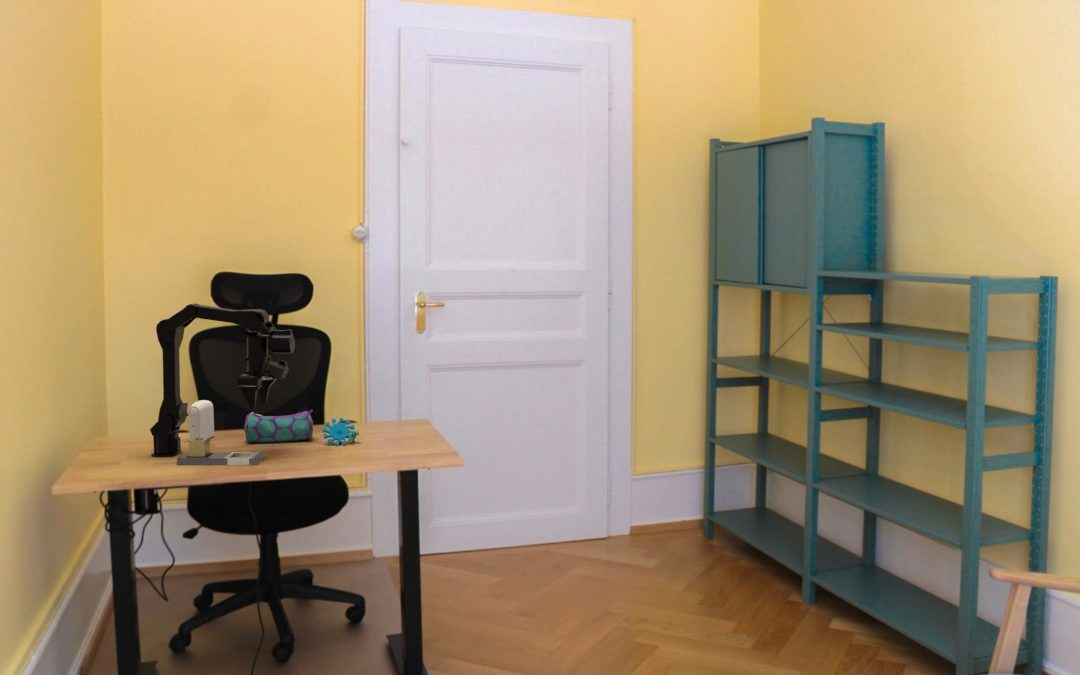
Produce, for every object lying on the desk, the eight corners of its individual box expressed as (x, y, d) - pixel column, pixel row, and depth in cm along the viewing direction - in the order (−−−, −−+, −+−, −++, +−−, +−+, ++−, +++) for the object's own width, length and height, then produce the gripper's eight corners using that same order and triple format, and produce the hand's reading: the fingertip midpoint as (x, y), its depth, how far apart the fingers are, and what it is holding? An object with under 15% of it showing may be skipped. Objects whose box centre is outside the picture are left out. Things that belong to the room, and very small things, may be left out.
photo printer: (200, 442, 297) (199, 403, 296) (187, 442, 297) (186, 403, 296) (216, 436, 307) (215, 398, 306) (203, 436, 307) (202, 397, 306)
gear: (319, 441, 291) (325, 414, 297) (319, 452, 295) (325, 425, 302) (356, 445, 292) (361, 418, 299) (356, 456, 297) (360, 429, 303)
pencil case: (243, 445, 293) (242, 414, 292) (245, 440, 301) (244, 410, 300) (313, 442, 298) (313, 412, 297) (313, 437, 306) (312, 407, 305)
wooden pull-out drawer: (189, 463, 268) (188, 439, 268) (194, 460, 273) (193, 436, 272) (205, 463, 268) (204, 439, 268) (210, 460, 273) (209, 436, 272)
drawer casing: (176, 464, 266) (176, 457, 266) (187, 458, 274) (186, 451, 274) (256, 464, 267) (256, 457, 266) (264, 458, 275) (264, 451, 274)
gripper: (274, 357, 267) (275, 412, 269) (295, 350, 286) (295, 401, 287) (235, 356, 268) (236, 411, 270) (258, 349, 287) (259, 401, 288)
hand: (258, 406), depth 279 cm, fingers open, 9 cm apart
